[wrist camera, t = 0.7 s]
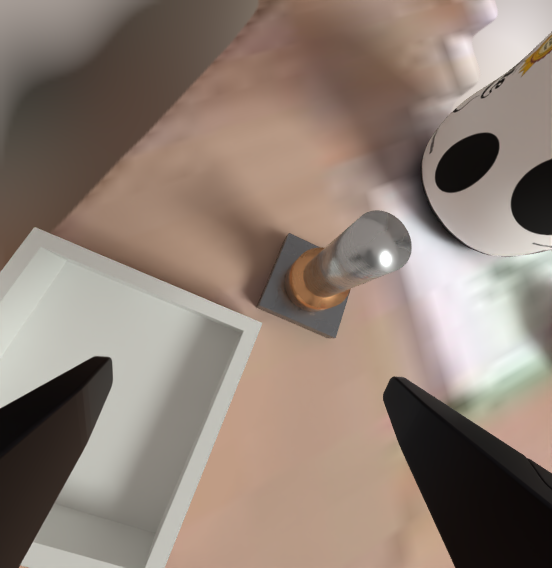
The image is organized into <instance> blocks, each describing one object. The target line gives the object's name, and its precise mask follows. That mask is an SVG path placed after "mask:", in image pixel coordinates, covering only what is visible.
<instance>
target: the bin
mask: <svg viewBox="0 0 552 568" xmlns="http://www.w3.org/2000/svg"><path fill="white" fill-rule="evenodd" d="M261 325H262V323H261V322H259V321H256V320H254V319H252V318H249V317H247V316H245V315H242V314H240V313H237V312H235V311H233V310H230V309H228V308H226V307H223V306H221V305H218V304H216V303H214V302H211V301H209V300H207V299H204V298H202V297H200V296H197V295H195V294H192V293H190V292H188V291H185V290H183V289H181V288H178V287H176V286H173V285H171V284H169V283H166V282H164V281H162V280H159V279H157V278H154V277H152V276H150V275H147V274H145V273H143V272H140V271H138V270H136V269H133V268H131V267H128V266H126V265H124V264H121V263H119V262H117V261H114V260H112V259H109V258H107V257H105V256H102V255H100V254H98V253H95V252H93V251H90V250H88V249H86V248H83V247H81V246H79V245H76V244H74V243H71V242H69V241H67V240H64V239H62V238H60V237H57V236H55V235H53V234H50V233H48V232H45V231H43V230H41V229H38V228H36V227H34V228H33V230H32V231H31V232H30V234H29V235H28V236H27V238H26V239H25V240H24V242H23V243H22V244H21V246H20V247H19V248H18V249H17V251H16V252H15V253H14V255H13V256H12V257H11V259H10V260H9V261H8V263H7V264H6V265H5V267H4V268H3V269H2V271H1V272H0V408H2V407H3V406H5V405H7V404H9V403H11V402H12V401H14V400H16V399H18V398H20V397H21V396H23V395H25V394H27V393H29V392H30V391H32V390H34V389H36V388H38V387H39V386H41V385H43V384H45V383H47V382H48V381H50V380H52V379H54V378H56V377H57V376H59V375H61V374H63V373H65V372H66V371H68V370H70V369H72V368H74V367H75V366H77V365H79V364H81V363H83V362H84V361H86V360H88V359H90V358H92V357H94V356H106V357H110V358H111V359H112V366H113V383H112V387H111V390H110V392H109V394H108V397H107V399H106V401H105V404H104V406H103V408H102V411H101V413H100V415H99V418H98V420H97V422H96V425H95V427H94V429H93V432H92V434H91V436H90V438H89V441H88V443H87V445H86V447H85V449H84V451H83V452H82V454H81V456H80V458H79V460H78V461H77V463H76V465H75V467H74V469H73V471H72V472H71V474H70V476H69V478H68V480H67V481H66V483H65V485H64V487H63V489H62V490H61V492H60V494H59V496H58V498H57V499H56V501H55V503H54V505H53V507H52V509H51V510H50V512H49V514H48V516H47V518H46V519H45V521H44V523H43V525H42V527H41V528H40V530H39V532H38V534H37V536H36V537H35V539H34V541H33V543H32V545H31V546H30V548H29V550H28V552H27V554H26V556H25V557H24V559H23V561H22V563H21V565H22V566H25V567H29V568H165V565H166V563H167V560H168V558H169V555H170V553H171V550H172V548H173V545H174V543H175V540H176V538H177V535H178V533H179V530H180V528H181V525H182V523H183V520H184V518H185V515H186V513H187V510H188V508H189V505H190V503H191V500H192V498H193V495H194V493H195V490H196V488H197V485H198V483H199V480H200V478H201V475H202V473H203V470H204V468H205V465H206V463H207V460H208V458H209V455H210V453H211V450H212V448H213V445H214V443H215V440H216V438H217V435H218V433H219V430H220V428H221V425H222V423H223V420H224V418H225V415H226V413H227V410H228V408H229V405H230V403H231V400H232V398H233V395H234V393H235V390H236V388H237V385H238V383H239V380H240V378H241V375H242V373H243V370H244V368H245V365H246V363H247V360H248V358H249V355H250V353H251V350H252V348H253V345H254V343H255V340H256V338H257V335H258V333H259V330H260V328H261Z"/></svg>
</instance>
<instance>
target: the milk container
mask: <svg viewBox="0 0 552 568" xmlns="http://www.w3.org/2000/svg"><path fill="white" fill-rule="evenodd" d="M421 177H422V185H423V189H424V192H425V195H426V197H427V200H428V203H429V205H430V208H431V210H432V211H433V212H434V214H435V215H436V217H437V218H438V220H439V221H440V222H441V224H442V225H443V227H444V228H445V229H446V230H447V231H448V232H449V233H450V234H451V235H453V236H454V237H455V238H456V239H457V240H459V241H460V242H461V243H463V244H464V245H466V246H467V247H469V248H471V249H473V250H476V251H478V252H481V253H484V254H487V255H493V256H501V257H511V256H520V255H528V254H534V253H539V252H544V251H547V250H551V249H552V32H551V33H550V34H549V35H548V36H547V37H546V38H545V39H544V40H543V41H542V42H541V43H540V44H539V45H538V46H536V48H534V49H533V51H531V52H530V53H529V54H528V55H527V56H526V57H525V58H524V59H522V60H521V61H520V62H519V63H518V64H517V65H516V66H514V67H513V68H512V69H511V70H509V71H508V72H507V73H505V74H504V75H503V76H501V77H500V78H498V79H497V80H495V81H493V82H492V83H490V84H489V85H488V86H486V87H484V88H483V89H481V90H479V91H478V92H476V93H475V94H473V95H472V96H470V97H469V98H468V99H466V100H465V101H464V102H463V103H462V104H460V105H459V106H458V107H457V108H456V109H455V110H454V111H453V112H452V113H451V114H450V115H449V116H448V117H447V118H446V119H445V120H444V121H443V123H442V124H441V125H440V127H439V128H438V129H437V130H436V132H435V133H434V135H433V136H432V137H431V139H430V141H429V142H428V144H427V147H426V149H425V153H424V155H423V158H422V162H421Z"/></svg>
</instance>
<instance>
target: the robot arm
mask: <svg viewBox="0 0 552 568" xmlns="http://www.w3.org/2000/svg"><path fill="white" fill-rule="evenodd" d="M112 383H113V366H112V359H111V358H110V357H106V356H94V357H92V358H90V359H88V360H86V361H84V362H83V363H81V364H79V365H77V366H75V367H74V368H72V369H70V370H68V371H66V372H65V373H63V374H61V375H59V376H57V377H56V378H54V379H52V380H50V381H48V382H47V383H45V384H43V385H41V386H39V387H38V388H36V389H34V390H32V391H30V392H29V393H27V394H25V395H23V396H21V397H20V398H18V399H16V400H14V401H12V402H11V403H9V404H7V405H5V406H3V407H2V408H0V568H19V566H20V565H21V563H22V561H23V559H24V557H25V556H26V554H27V552H28V550H29V548H30V546H31V545H32V543H33V541H34V539H35V537H36V536H37V534H38V532H39V530H40V528H41V527H42V525H43V523H44V521H45V519H46V518H47V516H48V514H49V512H50V510H51V509H52V507H53V505H54V503H55V501H56V499H57V498H58V496H59V494H60V492H61V490H62V489H63V487H64V485H65V483H66V481H67V480H68V478H69V476H70V474H71V472H72V471H73V469H74V467H75V465H76V463H77V461H78V460H79V458H80V456H81V454H82V452H83V451H84V449H85V447H86V445H87V443H88V441H89V438H90V436H91V434H92V432H93V429H94V427H95V425H96V422H97V420H98V418H99V415H100V413H101V411H102V408H103V406H104V404H105V401H106V399H107V397H108V394H109V392H110V390H111V387H112ZM383 401H384V404H385V407H386V409H387V412H388V415H389V418H390V420H391V423H392V426H393V429H394V432H395V434H396V437H397V440H398V442H399V445H400V447H401V450H402V452H403V454H404V457H405V459H406V461H407V463H408V465H409V467H410V470H411V472H412V474H413V476H414V478H415V481H416V483H417V485H418V487H419V489H420V492H421V494H422V496H423V498H424V500H425V502H426V505H427V507H428V509H429V511H430V513H431V516H432V518H433V520H434V522H435V524H436V527H437V529H438V531H439V533H440V535H441V537H442V540H443V542H444V544H445V546H446V548H447V551H448V553H449V555H450V557H451V559H452V562H453V564H454V566H455V568H552V473H550V472H549V471H547V470H546V469H544V468H543V467H541V466H539V465H538V464H536V463H535V462H533V461H532V460H530V459H528V458H526V457H525V456H524V455H523V454H521V453H519V452H518V451H516V450H515V449H513V448H512V447H510V446H509V445H507V444H506V443H504V442H503V441H501V440H499V439H498V438H496V437H495V436H493V435H492V434H490V433H489V432H487V431H486V430H484V429H483V428H481V427H480V426H478V425H476V424H475V423H473V422H472V421H470V420H469V419H467V418H466V417H464V416H463V415H461V414H460V413H458V412H456V411H455V410H453V409H452V408H450V407H449V406H447V405H446V404H444V403H443V402H441V401H440V400H438V399H437V398H435V397H433V396H432V395H430V394H429V393H427V392H426V391H424V390H423V389H421V388H420V387H418V386H417V385H415V384H414V383H412V382H410V381H409V380H407V379H406V378H404V377H392V378H391V379H390V381H389V383H388V385H387V387H386V389H385V391H384V394H383Z"/></svg>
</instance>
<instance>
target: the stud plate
mask: <svg viewBox="0 0 552 568" xmlns="http://www.w3.org/2000/svg"><path fill="white" fill-rule="evenodd" d="M313 248H320V247H318V246H315V245H313V244H311V243H309V242H307V241H305V240H303V239H301V238H299V237H296V236H294V235H292V234H290V233H289V234H288V235H287V237H286V238H285V240H284V243H283V245H282V247H281V250H280V252H279V255H278V257H277V259H276V262H275V264H274V267H273V269H272V271H271V274H270V276H269V279H268V281H267V283H266V286H265V288H264V291H263V293H262V296H261V298H260V300H259V303H258V305H257V308H259V309H261V310H263V311H266V312H268V313H270V314H273V315H275V316H277V317H280V318H282V319H284V320H287V321H289V322H291V323H294V324H296V325H298V326H301V327H303V328H305V329H308V330H310V331H312V332H315V333H317V334H319V335H322V336H324V337H326V338H336V335H337V331H338V328H339V325H340V322H341V319H342V315H343V312H344V309H345V306H346V302H347V299H348V296H349V294H348V296H347V297H346V299H345V300H344V301H343V302H342V303H340V304H339V305H337V306H334V307H331V308H328V309H325V310H322V311H317V312H309V311H305V310H302V309H300V308H299V307H297V306H296V305H295V304H294V303H293V302H292V301H291V300H290V298H289V297H288V295H287V292H286V289H285V276H286V273H287V271H288V269H289V267H290V266H291V265H292V264H293V263H294V262H295V261H296V260H297V259H298V258H299V257H300V256H301V255H302V254H303V253H304V252H306V251H307V250H310V249H313ZM349 293H350V292H349Z"/></svg>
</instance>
